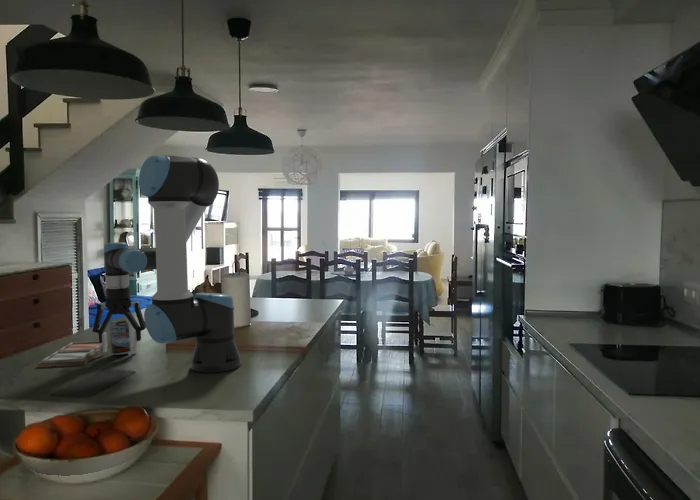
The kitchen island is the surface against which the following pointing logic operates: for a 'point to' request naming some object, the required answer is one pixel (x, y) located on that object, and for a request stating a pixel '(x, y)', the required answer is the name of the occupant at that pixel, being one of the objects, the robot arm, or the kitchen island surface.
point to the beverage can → (120, 337)
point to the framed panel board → (73, 354)
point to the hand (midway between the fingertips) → (120, 351)
